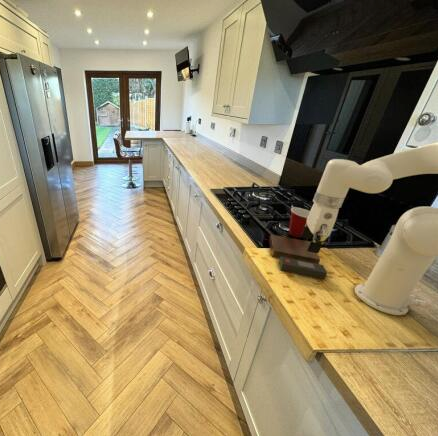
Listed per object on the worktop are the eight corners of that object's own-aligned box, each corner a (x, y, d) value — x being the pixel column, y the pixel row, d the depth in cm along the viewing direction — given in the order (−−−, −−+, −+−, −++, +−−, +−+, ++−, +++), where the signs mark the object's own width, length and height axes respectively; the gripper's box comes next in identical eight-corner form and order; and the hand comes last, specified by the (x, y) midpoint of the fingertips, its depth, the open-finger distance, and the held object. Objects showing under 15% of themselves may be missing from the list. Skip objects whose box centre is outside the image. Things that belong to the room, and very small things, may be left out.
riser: (308, 247, 102) (311, 241, 101) (317, 266, 90) (320, 259, 89) (268, 240, 107) (270, 234, 105) (272, 256, 95) (274, 250, 93)
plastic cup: (312, 242, 106) (321, 218, 101) (285, 237, 109) (293, 214, 104) (305, 231, 115) (314, 209, 110) (281, 227, 118) (288, 205, 113)
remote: (320, 271, 87) (323, 264, 86) (324, 279, 83) (327, 272, 81) (278, 262, 91) (280, 256, 90) (280, 270, 87) (282, 263, 86)
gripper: (353, 211, 66) (329, 261, 74) (332, 192, 81) (314, 235, 89) (322, 207, 68) (302, 255, 76) (308, 189, 83) (292, 231, 91)
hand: (308, 244), depth 82 cm, fingers open, 9 cm apart
